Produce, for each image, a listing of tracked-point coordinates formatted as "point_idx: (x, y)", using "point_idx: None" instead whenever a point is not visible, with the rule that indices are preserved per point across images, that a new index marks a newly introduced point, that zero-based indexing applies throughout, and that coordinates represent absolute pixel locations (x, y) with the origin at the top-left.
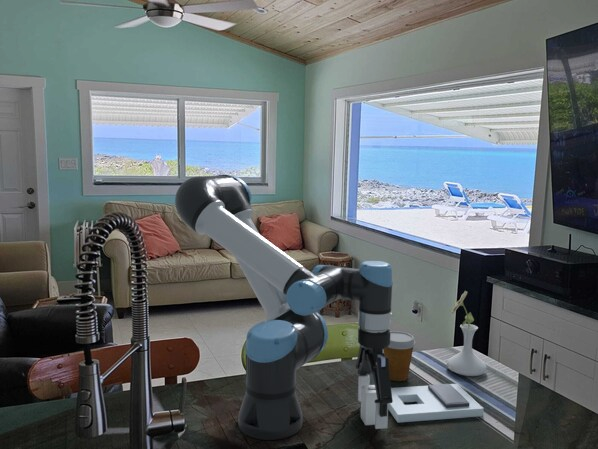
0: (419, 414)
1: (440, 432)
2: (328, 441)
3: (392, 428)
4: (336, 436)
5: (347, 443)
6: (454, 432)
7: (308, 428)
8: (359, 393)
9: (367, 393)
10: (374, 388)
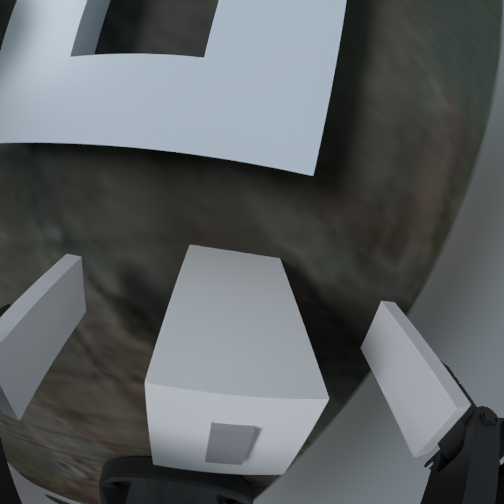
0: (338, 39)
1: (437, 45)
2: (306, 440)
3: (339, 227)
4: None
5: (342, 408)
6: (445, 3)
7: None
8: (67, 337)
9: (284, 468)
10: (241, 439)
